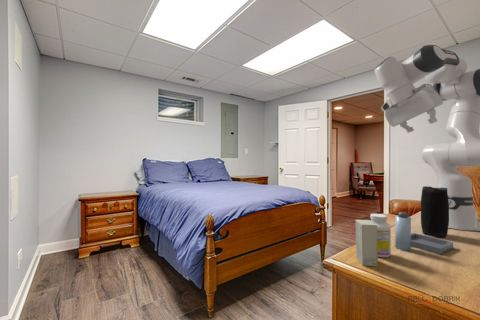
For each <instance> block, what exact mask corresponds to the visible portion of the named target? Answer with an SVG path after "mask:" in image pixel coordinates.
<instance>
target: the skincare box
mask: <svg viewBox="0 0 480 320" xmlns="http://www.w3.org/2000/svg"><path fill="white" fill-rule="evenodd" d="M355 247H356V248H355V250H356V251H355V254H356V259H357V260H358V262H359V263H360V264H361V265H362V266H365V267H366V266H367V267H378V266H379V262H378V261H379V260H378V259H379V257H378V249H377V225H376V224H375V223H373V222H372V221H371V219H355Z"/></svg>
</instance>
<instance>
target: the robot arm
mask: <svg viewBox="0 0 480 320" xmlns="http://www.w3.org/2000/svg"><path fill="white" fill-rule="evenodd" d="M467 68H468V63H467V61H466V60H465V59H463V58H462V57H459V56H458V54H456V52H454V51H451V50H447V49H444V48H441V47H440V46H439V45H436V44H425V45H423V46H422V47H421V48H419V49H418V50H417V51H416V52H415V53H413V54H412V55H410V56H409V57H408V58H406V59H405V60H404V61H402V62H399V60H397V58H396V57H395V56H393V55H392V56H389V57H387V58H386V59H384V60H383V61H381V62H380V63H379V64H377V66H376V67H375V68H374V74H375V76H376V79H377V82H378V83H379V85H380V87H381V88H382V89H383V90H384V91H385V94H386V97H387V99H386V101H385V102H384V103H383V105H381V108H380V110H381V111H382V112H384V117H385V119H386V121H387V123H388V124H389V125H390V126H391V127H393V128H394V127H397V126H399V125H400V127H401V128H402V129H403V130H405V131H406V132H407V134H409V133H411V132H414V130H415V129H414V128H413V126H410V125H408V121H409V120H411V119H414V118H416V117H419V116H420V115H423V114H424V113H426V114H427V115H429V119H427V121H428V122H429V124H434V123H436V122H438V119H437V117H436V116H437V115H436V113H437V110H436V109H435V108H437V107H440V106H441V105H443V104H444V102H445V101H448V100H455V101H454V102H453V105H452V106H451V109H450V112H449V115H448V118H447V121H446V126H445V132H446V134H447V135H449V136H450V137H452V138H456V139H457V140H456V141H453V142H437V143H432V144H428V145H426V146H424V148H423V149H422V151H421V159H422V161H423V162H424V163H425V164H427V165H429V166H430V167H431V168H432V169H433V171H434V172H435V174H436V176H437V182H438V188H441V187H442V188H447V193H448V200H449V226H448V229H454V230H461V231H473V232H474V231H475V232H480V219H479V218H478V211H477V210H476V207H474V204H475V203H474V201H475V200H474V196H473V195H472V194H473V192H472V191H473V188H472V187H473V182H472V180H471V178H470V177H469V176H468V175H465V174H463V173H461V172H459V171H458V169H457V167H477V166H479V167H480V68H478V69H475V70H470V71H467V70H468V69H467ZM423 78H424V79H425V81H426V82H428V83H423V84H421V85H420V86H418V87H416V86H415V85H414V84H415V83H417V82H419V81H420V80H422V79H423ZM429 83H430V84H429ZM432 84H433V85H432Z"/></svg>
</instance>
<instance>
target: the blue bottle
mask: <svg viewBox="0 0 480 320" xmlns="http://www.w3.org/2000/svg"><path fill="white" fill-rule="evenodd" d="M394 217H395V219H394V221H395V225H394V227H395V229H394V230H395V231H394V235H395V236H394V239H395V240H394V242H395V244H394V248H395V247H396V248H395V249H397V250H399V249H400V250H399V251H403V250H404V252H410V251H411V250H412V248H411V233H412V217H410V216H408V213H407V212H406V211H405V212H404V211H398V214H397V215H395V216H394Z"/></svg>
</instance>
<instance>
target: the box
mask: <svg viewBox="0 0 480 320" xmlns="http://www.w3.org/2000/svg"><path fill="white" fill-rule="evenodd" d="M411 246H412V248H414V249H415V248H416V249H419V250H422V251H425V252H429V253H432V254H436V255H439V256H441V255H442V256H443V255H444V254H446V253H447V252H449V251H451V250H452V249H454V242H453V241H450V240H447V239H446V240H445V239H441V238H437V237H432V236H429V235H426V234H420V233H415V232H411Z"/></svg>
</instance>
